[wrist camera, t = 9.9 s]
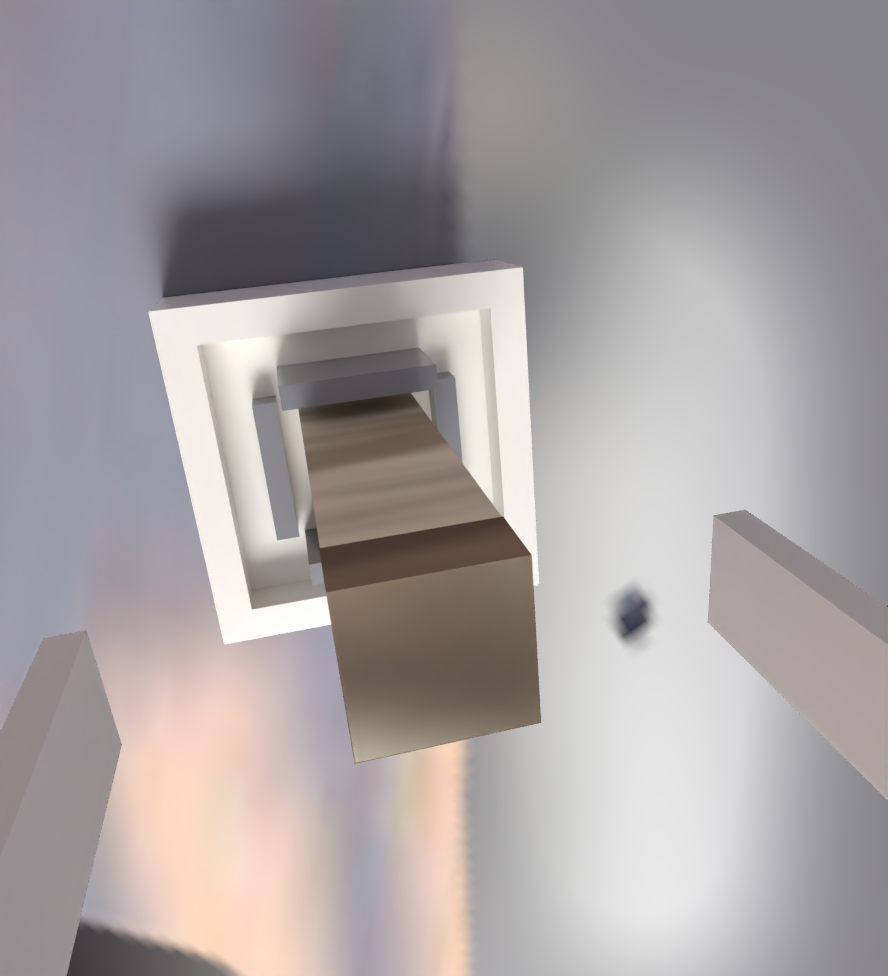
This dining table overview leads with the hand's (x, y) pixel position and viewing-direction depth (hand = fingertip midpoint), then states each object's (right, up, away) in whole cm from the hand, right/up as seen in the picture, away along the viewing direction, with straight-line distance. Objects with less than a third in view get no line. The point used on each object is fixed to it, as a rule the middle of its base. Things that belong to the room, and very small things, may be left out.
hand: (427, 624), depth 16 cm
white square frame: (-3, +5, +14) cm, 15 cm away
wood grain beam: (-3, +4, +12) cm, 13 cm away
